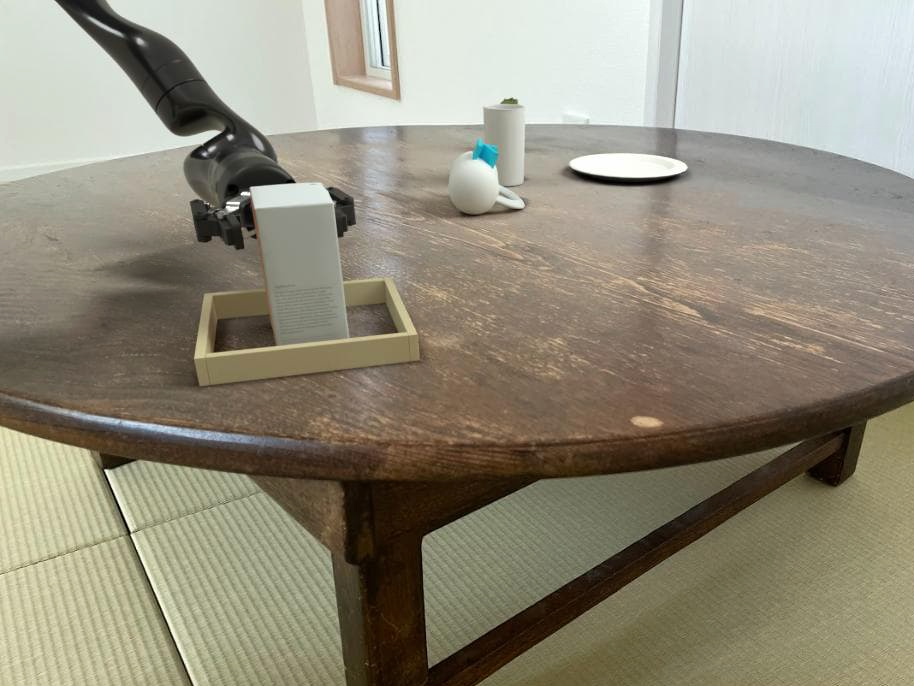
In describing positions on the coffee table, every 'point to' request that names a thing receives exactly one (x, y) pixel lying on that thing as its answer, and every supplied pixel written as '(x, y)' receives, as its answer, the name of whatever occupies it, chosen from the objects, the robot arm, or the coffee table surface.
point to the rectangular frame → (302, 355)
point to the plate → (628, 167)
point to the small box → (300, 262)
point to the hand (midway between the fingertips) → (289, 232)
